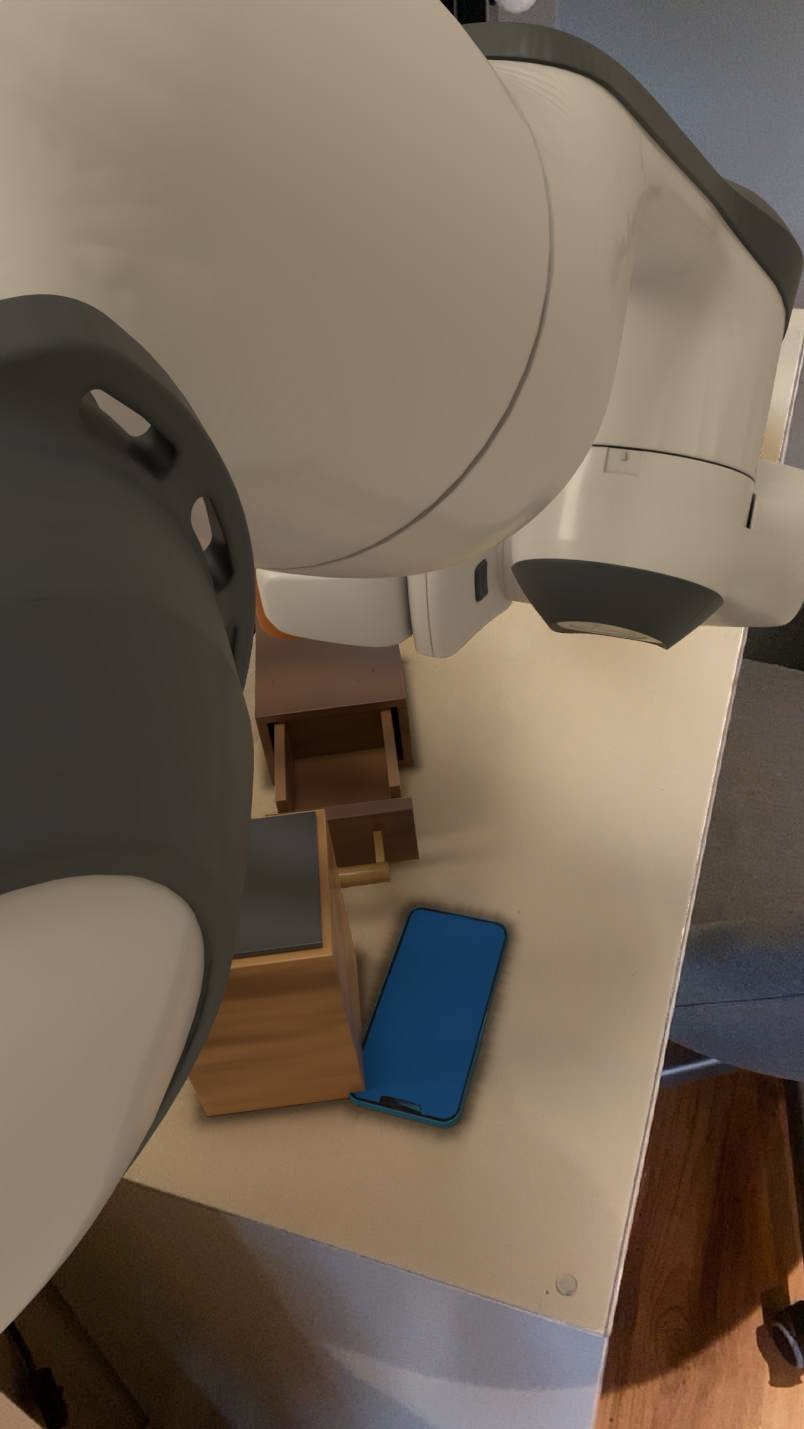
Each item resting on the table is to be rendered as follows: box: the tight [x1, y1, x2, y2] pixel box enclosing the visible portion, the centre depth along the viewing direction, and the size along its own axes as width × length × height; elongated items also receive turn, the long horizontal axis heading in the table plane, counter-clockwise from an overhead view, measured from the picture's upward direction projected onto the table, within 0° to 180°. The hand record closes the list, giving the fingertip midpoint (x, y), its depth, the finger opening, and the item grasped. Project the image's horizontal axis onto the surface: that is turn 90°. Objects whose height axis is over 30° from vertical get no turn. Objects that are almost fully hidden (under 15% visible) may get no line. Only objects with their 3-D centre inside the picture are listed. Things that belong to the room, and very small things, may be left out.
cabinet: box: [254, 613, 415, 784], centre depth 86 cm, size 13×12×8 cm
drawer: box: [264, 708, 420, 889], centre depth 77 cm, size 16×10×6 cm, turn 5°
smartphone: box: [348, 906, 509, 1129], centre depth 69 cm, size 7×1×15 cm
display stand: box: [188, 809, 365, 1117], centre depth 63 cm, size 10×10×16 cm
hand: (254, 482), depth 59 cm, fingers closed on lotion bottle, 4 cm apart
